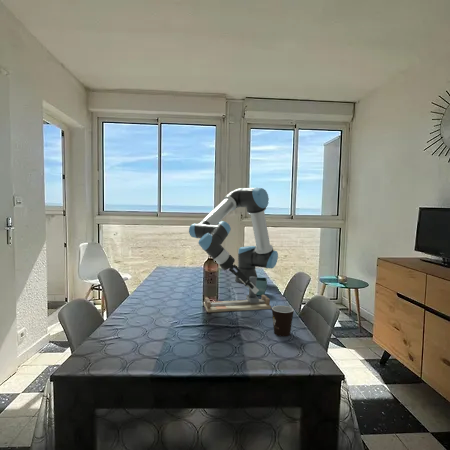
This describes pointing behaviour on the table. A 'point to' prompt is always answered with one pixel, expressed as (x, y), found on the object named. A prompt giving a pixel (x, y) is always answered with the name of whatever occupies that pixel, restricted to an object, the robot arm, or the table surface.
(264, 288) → the flower pot
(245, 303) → the rail
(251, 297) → the carriage
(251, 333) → the table surface
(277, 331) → the coffee mug
